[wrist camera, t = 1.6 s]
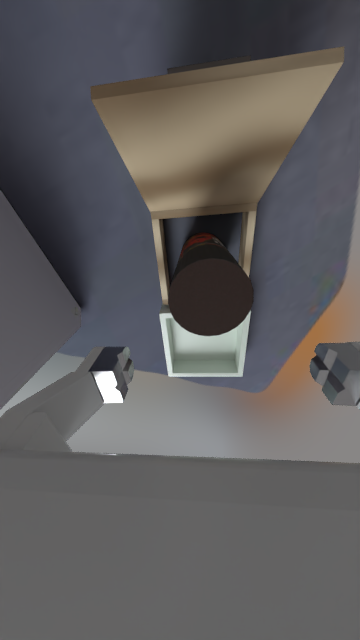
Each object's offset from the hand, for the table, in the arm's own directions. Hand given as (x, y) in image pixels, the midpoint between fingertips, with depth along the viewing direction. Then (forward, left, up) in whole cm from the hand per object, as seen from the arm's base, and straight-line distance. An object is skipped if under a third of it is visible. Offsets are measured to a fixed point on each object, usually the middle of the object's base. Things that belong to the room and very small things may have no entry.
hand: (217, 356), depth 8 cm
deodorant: (0, 0, -21) cm, 21 cm away
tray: (+13, 0, -21) cm, 24 cm away
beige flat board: (-8, 0, -12) cm, 15 cm away
